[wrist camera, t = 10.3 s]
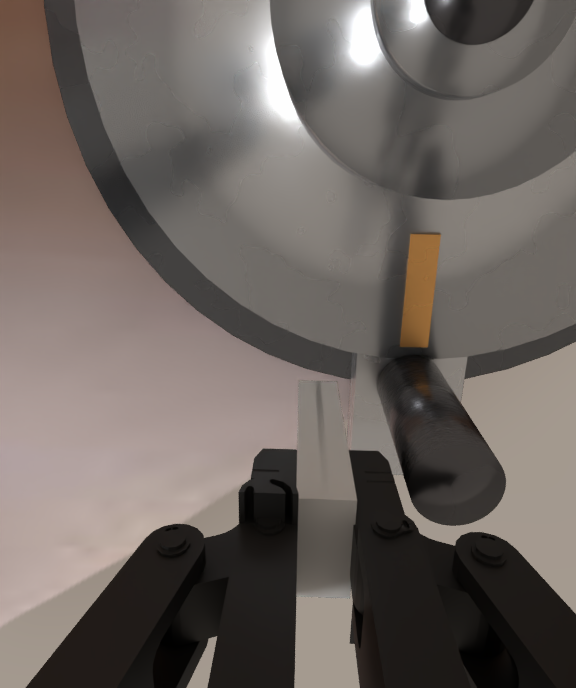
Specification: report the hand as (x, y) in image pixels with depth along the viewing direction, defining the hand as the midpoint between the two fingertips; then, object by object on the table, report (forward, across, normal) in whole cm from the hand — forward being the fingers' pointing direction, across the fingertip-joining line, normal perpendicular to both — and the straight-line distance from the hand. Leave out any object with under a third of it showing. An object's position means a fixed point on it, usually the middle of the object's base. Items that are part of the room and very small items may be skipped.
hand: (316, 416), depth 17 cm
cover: (+1, +3, +12) cm, 12 cm away
